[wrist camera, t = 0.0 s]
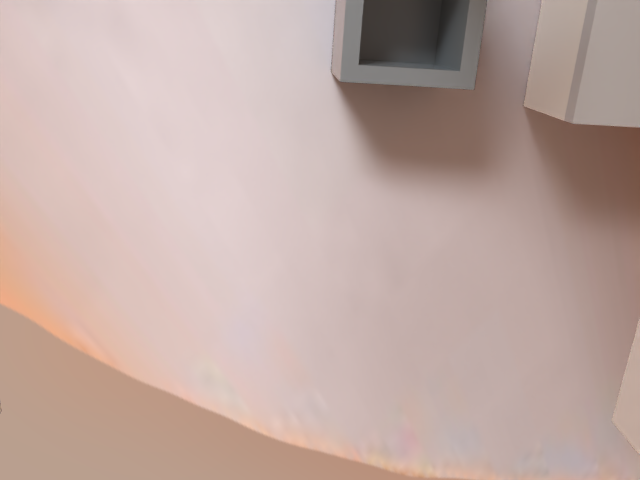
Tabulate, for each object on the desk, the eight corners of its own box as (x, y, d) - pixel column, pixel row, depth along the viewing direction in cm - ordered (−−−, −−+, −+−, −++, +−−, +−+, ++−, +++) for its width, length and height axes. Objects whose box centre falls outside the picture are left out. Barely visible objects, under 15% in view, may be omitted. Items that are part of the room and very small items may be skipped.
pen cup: (339, -57, 35) (351, -72, 29) (460, -47, 36) (496, -60, 30) (330, 71, 37) (340, 81, 32) (444, 78, 38) (474, 89, 32)
